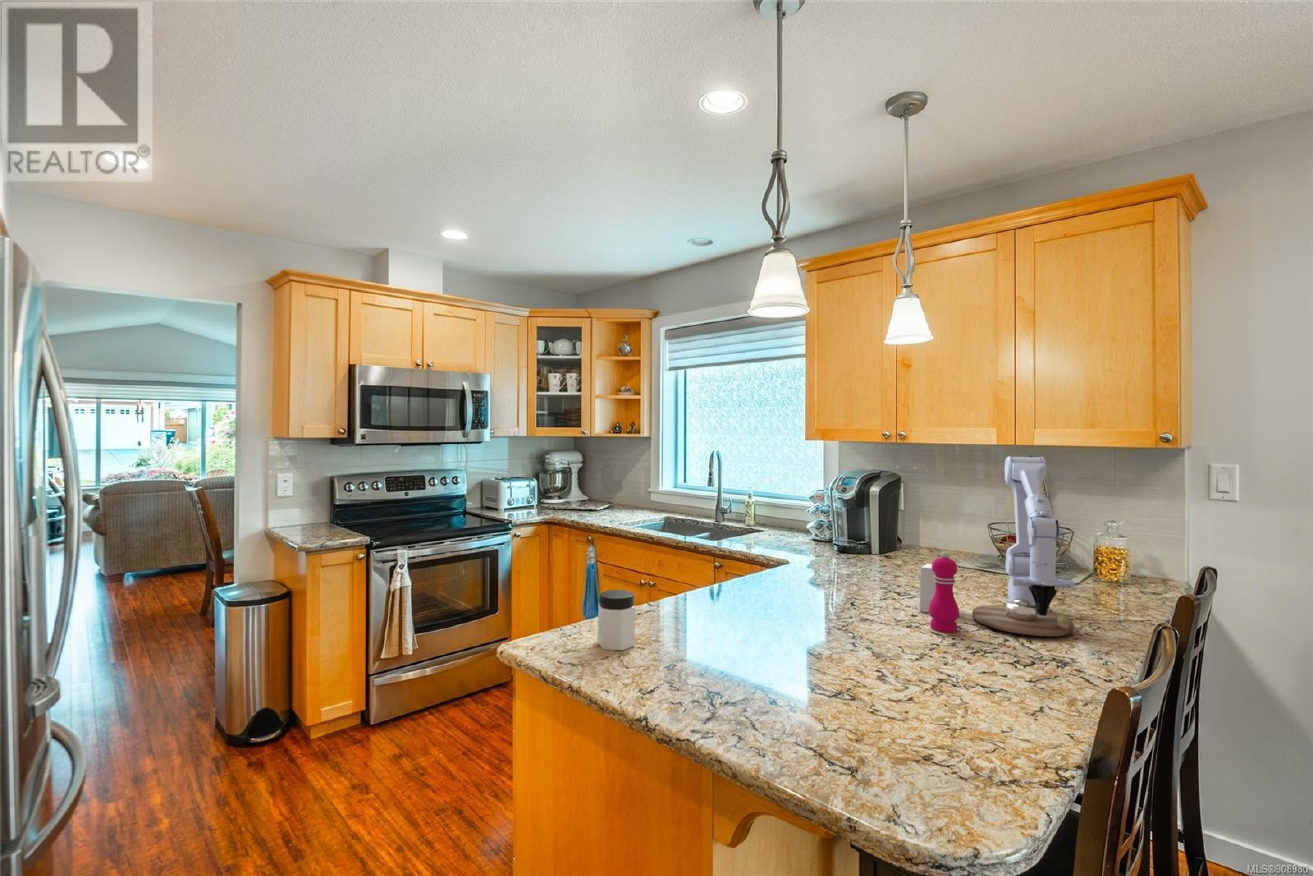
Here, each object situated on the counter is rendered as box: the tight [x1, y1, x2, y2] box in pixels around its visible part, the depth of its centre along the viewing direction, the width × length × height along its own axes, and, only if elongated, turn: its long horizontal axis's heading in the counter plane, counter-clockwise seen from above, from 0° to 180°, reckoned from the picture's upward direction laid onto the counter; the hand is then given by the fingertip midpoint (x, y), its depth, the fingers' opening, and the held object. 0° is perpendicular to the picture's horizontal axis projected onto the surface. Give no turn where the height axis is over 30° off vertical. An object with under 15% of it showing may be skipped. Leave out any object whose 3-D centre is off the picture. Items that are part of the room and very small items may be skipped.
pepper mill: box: [928, 551, 960, 633], centre depth 158 cm, size 7×7×20 cm
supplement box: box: [919, 563, 936, 614], centre depth 175 cm, size 7×7×13 cm
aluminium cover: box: [1005, 599, 1037, 622], centre depth 162 cm, size 7×7×4 cm
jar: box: [597, 589, 636, 651], centre depth 144 cm, size 9×8×12 cm
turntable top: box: [971, 604, 1075, 637], centre depth 162 cm, size 23×23×4 cm
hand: (1041, 614), depth 161 cm, fingers closed
